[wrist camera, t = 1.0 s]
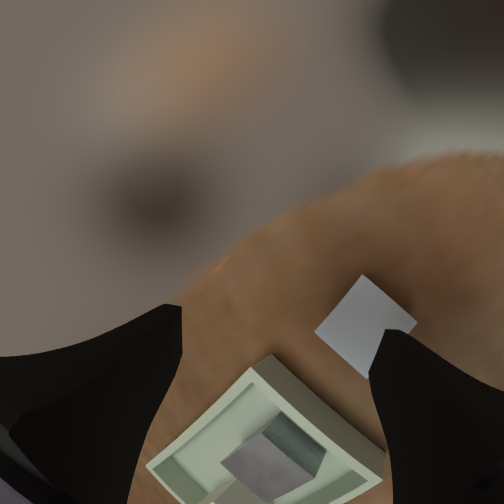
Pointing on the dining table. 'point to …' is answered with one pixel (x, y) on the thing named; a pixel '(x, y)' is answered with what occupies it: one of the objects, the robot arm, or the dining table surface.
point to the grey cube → (362, 324)
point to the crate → (252, 419)
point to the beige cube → (233, 495)
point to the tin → (275, 459)
